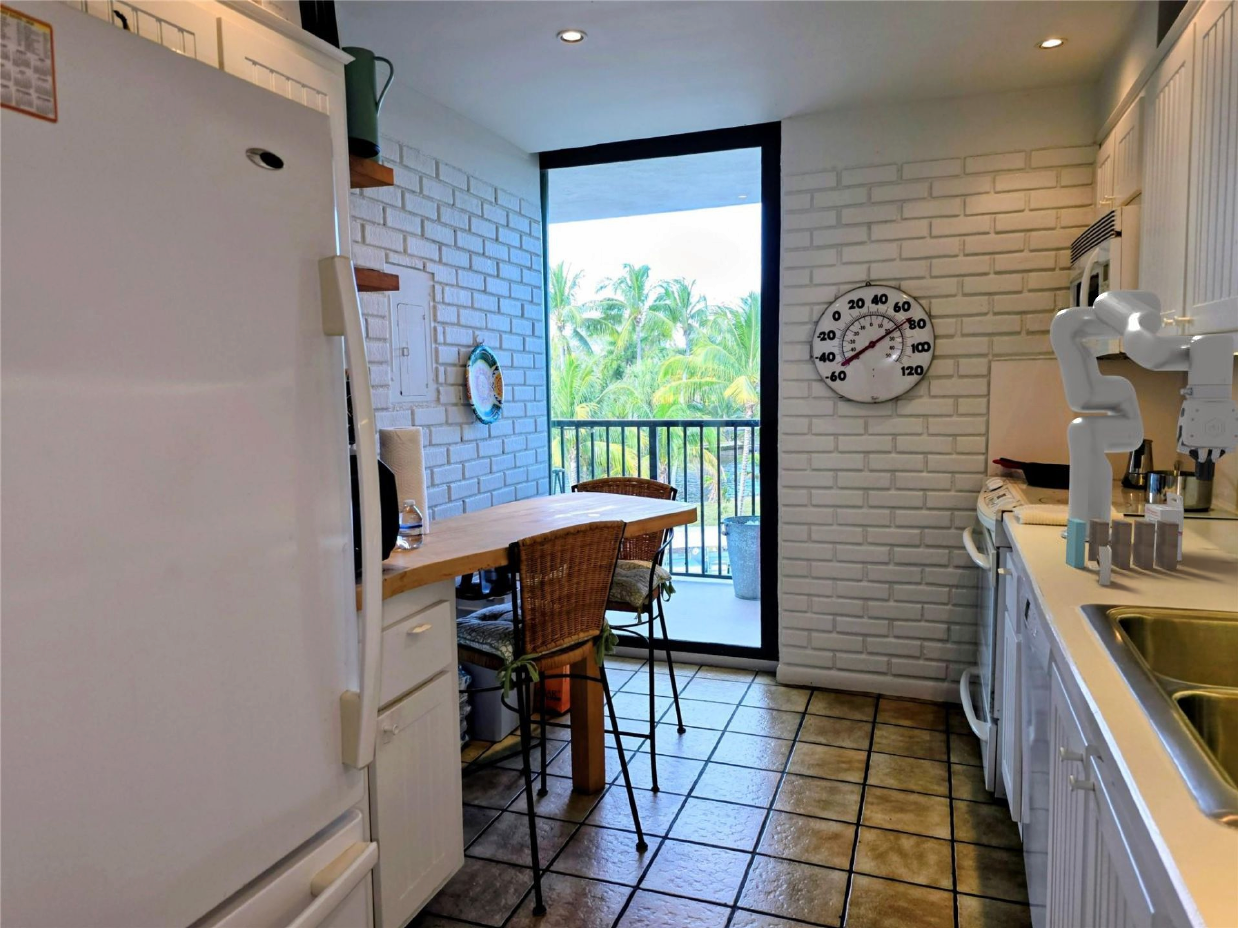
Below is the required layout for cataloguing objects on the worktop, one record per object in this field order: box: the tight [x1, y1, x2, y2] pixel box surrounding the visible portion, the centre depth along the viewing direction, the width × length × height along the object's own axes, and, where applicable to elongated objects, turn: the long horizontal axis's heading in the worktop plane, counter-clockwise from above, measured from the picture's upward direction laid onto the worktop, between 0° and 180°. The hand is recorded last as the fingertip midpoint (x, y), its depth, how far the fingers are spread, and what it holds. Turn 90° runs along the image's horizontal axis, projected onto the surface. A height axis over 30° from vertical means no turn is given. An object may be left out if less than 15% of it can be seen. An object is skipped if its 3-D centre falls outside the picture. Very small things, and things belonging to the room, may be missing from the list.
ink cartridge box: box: [1144, 491, 1185, 562], centre depth 184 cm, size 9×5×15 cm, turn 168°
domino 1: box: [1065, 518, 1087, 569], centre depth 176 cm, size 5×2×10 cm, turn 170°
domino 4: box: [1131, 519, 1156, 571], centre depth 174 cm, size 5×2×10 cm, turn 170°
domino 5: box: [1154, 520, 1179, 572], centre depth 173 cm, size 5×2×10 cm, turn 170°
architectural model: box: [1087, 544, 1112, 586], centre depth 162 cm, size 3×7×7 cm, turn 155°
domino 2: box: [1087, 519, 1109, 562], centre depth 175 cm, size 5×2×10 cm, turn 170°
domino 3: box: [1110, 518, 1133, 570], centre depth 174 cm, size 5×2×10 cm, turn 170°
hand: (1204, 480), depth 170 cm, fingers closed
